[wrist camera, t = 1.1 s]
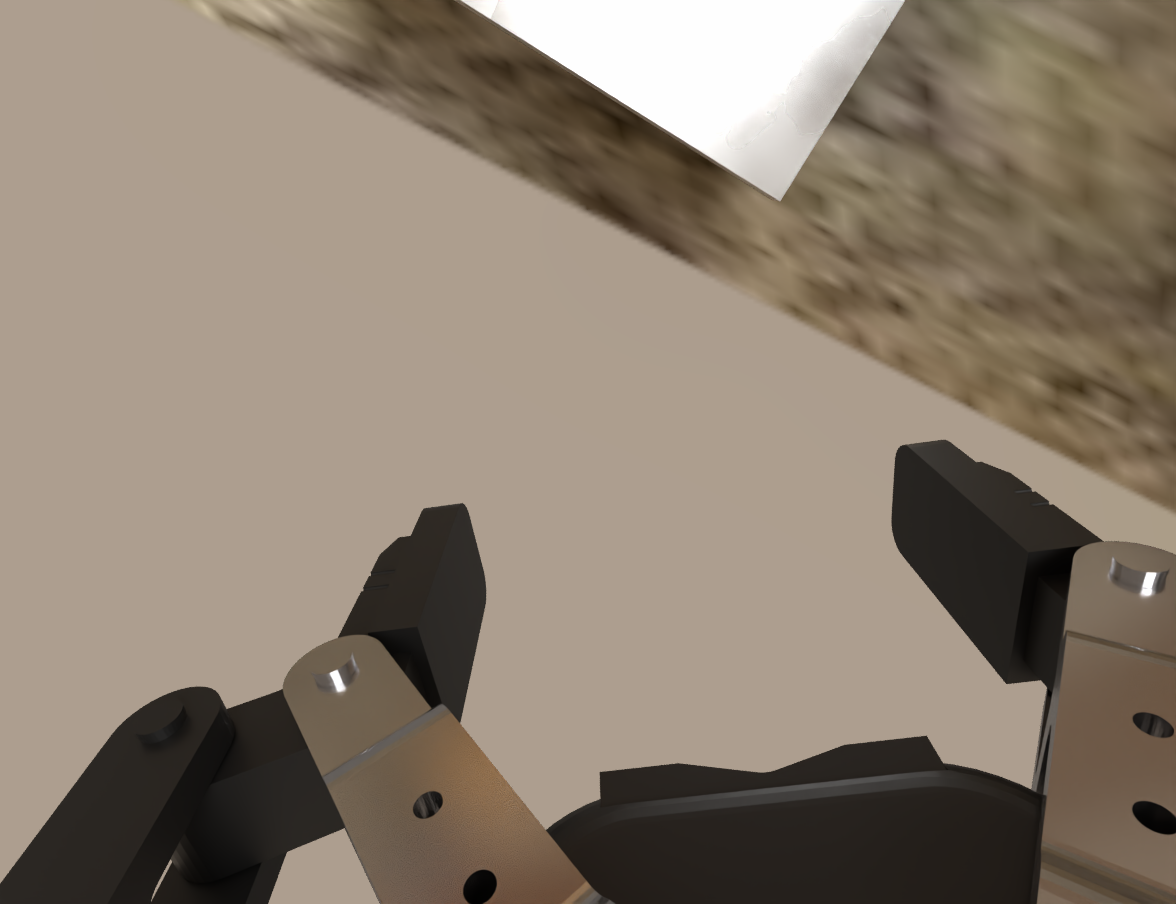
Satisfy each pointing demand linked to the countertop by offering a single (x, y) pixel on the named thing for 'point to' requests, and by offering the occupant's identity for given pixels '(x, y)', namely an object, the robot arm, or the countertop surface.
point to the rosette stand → (712, 68)
